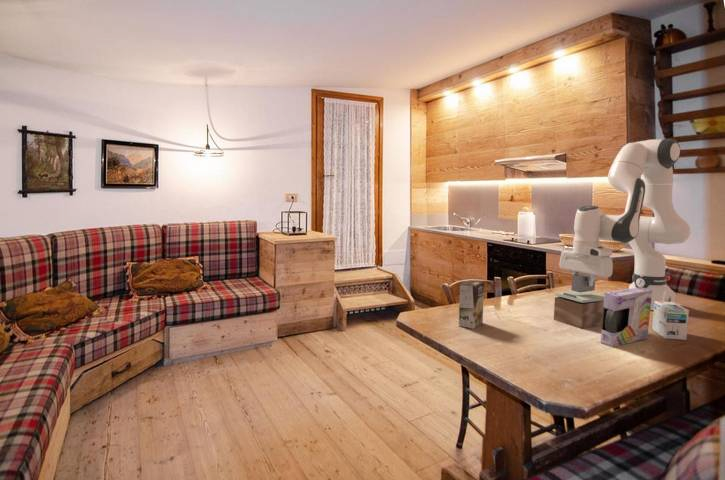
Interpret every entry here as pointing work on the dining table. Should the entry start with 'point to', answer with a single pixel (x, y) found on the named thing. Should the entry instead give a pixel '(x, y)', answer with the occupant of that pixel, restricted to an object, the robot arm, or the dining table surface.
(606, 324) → the cake pan box
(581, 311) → the crate
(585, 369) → the dining table surface
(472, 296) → the coffee box
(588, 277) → the block
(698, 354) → the dining table surface
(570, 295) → the lid
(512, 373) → the dining table surface
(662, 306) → the light bulb box
